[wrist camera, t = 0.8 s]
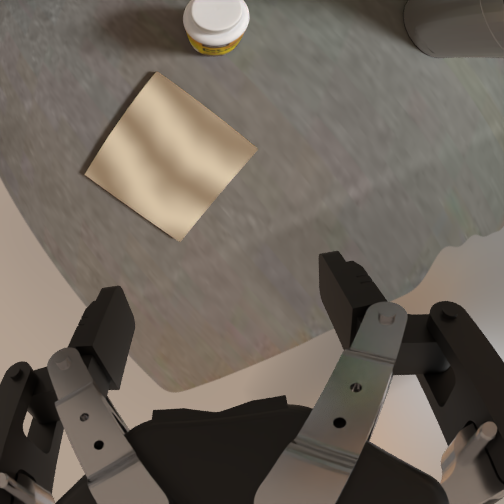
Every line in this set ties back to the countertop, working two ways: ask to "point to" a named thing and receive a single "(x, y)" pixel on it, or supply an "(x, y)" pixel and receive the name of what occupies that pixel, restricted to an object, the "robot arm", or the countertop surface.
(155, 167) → the oak board
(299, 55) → the countertop surface
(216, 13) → the supplement bottle
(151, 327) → the countertop surface
